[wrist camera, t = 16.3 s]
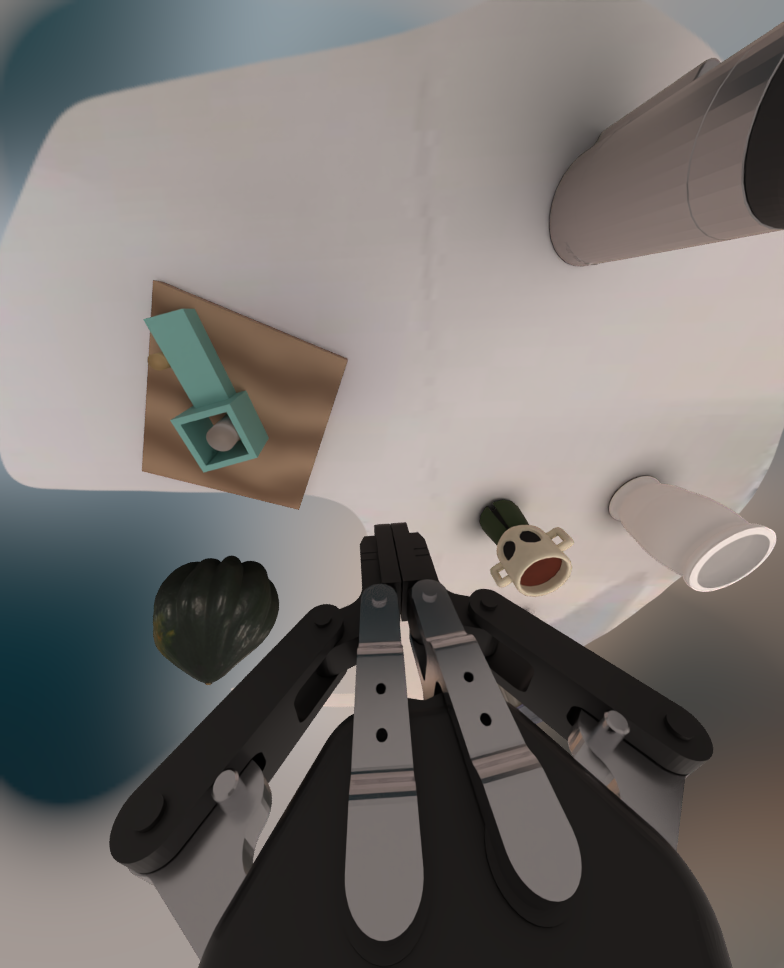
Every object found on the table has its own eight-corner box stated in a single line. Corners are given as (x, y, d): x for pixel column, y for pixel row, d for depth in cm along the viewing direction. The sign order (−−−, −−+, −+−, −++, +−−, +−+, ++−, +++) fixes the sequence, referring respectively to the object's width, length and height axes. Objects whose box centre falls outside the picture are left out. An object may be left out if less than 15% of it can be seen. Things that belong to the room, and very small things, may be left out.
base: (161, 281, 28) (103, 272, 21) (347, 358, 34) (348, 370, 27) (149, 465, 36) (104, 501, 30) (300, 503, 42) (291, 541, 35)
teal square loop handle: (147, 321, 28) (108, 323, 24) (205, 305, 28) (178, 304, 24) (222, 450, 35) (203, 472, 31) (268, 438, 35) (257, 457, 31)
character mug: (517, 479, 45) (575, 535, 34) (536, 508, 48) (595, 568, 37) (457, 521, 47) (492, 586, 36) (479, 546, 51) (517, 612, 39)
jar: (638, 459, 46) (752, 516, 34) (676, 482, 50) (792, 543, 37) (588, 512, 50) (673, 582, 38) (627, 531, 54) (716, 600, 41)
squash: (162, 542, 36) (106, 692, 30) (293, 561, 41) (264, 693, 35) (187, 553, 48) (149, 661, 43) (284, 567, 53) (262, 665, 48)
